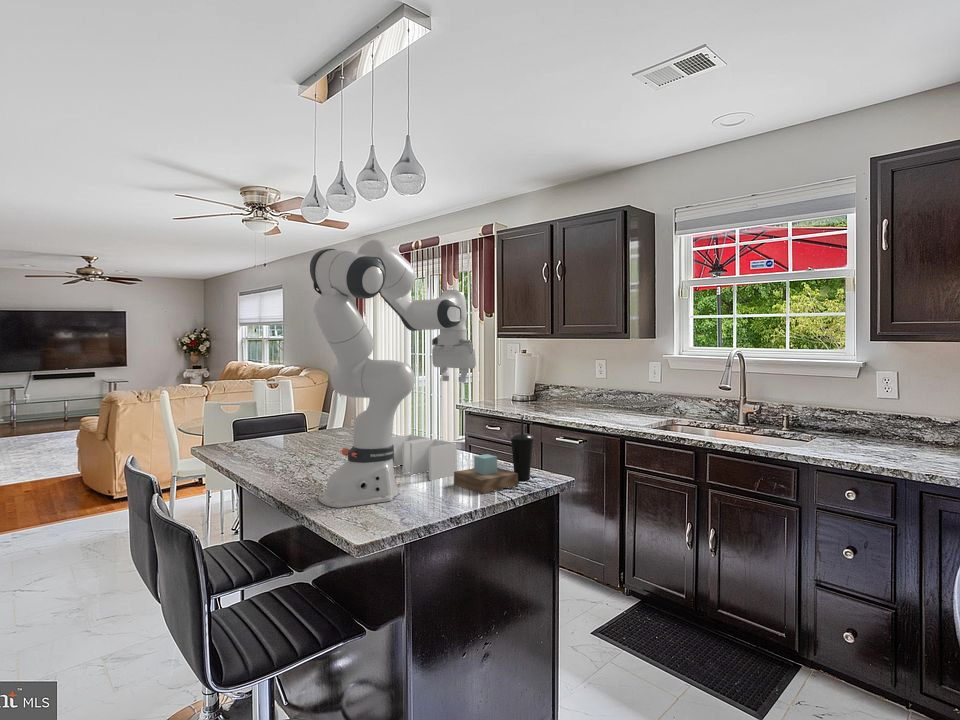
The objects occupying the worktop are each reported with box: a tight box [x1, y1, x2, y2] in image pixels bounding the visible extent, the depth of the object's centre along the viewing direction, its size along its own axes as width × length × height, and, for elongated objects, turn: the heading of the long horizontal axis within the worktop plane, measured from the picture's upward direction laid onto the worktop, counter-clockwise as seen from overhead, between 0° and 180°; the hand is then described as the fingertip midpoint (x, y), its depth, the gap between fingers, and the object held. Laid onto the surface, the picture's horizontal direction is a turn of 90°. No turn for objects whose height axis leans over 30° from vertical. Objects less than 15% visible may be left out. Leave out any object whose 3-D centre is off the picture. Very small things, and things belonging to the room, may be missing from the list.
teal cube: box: [473, 453, 498, 475], centre depth 171 cm, size 5×5×5 cm
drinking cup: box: [509, 416, 535, 482], centre depth 179 cm, size 8×8×20 cm
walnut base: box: [453, 467, 519, 494], centre depth 171 cm, size 14×14×4 cm
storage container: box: [392, 434, 458, 482], centre depth 190 cm, size 25×11×11 cm, turn 45°
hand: (453, 381), depth 184 cm, fingers open, 8 cm apart
